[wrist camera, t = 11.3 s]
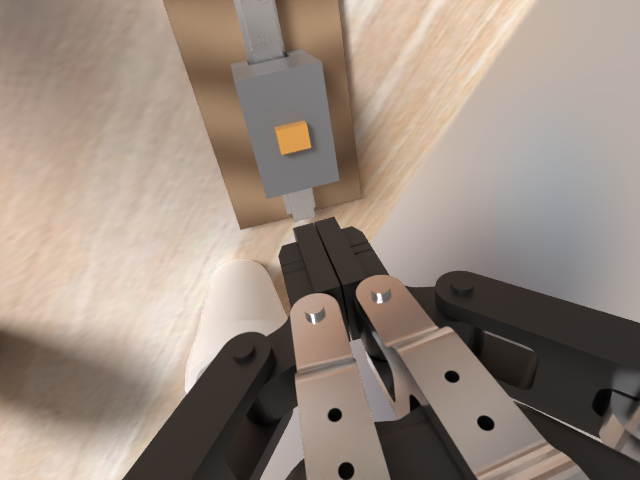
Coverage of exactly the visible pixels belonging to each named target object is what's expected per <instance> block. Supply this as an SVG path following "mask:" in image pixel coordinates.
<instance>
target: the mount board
mask: <svg viewBox="0 0 640 480" xmlns="http://www.w3.org/2000/svg"><path fill="white" fill-rule="evenodd" d="M163 3H164V6H165V8H166V11H167V14H168V17H169V20H170V23H171V26H172V29H173V32H174V35H175V38H176V41H177V44H178V47H179V50H180V53H181V56H182V58H183V61H184V64H185V67H186V70H187V73H188V76H189V79H190V82H191V85H192V88H193V91H194V94H195V97H196V100H197V103H198V106H199V108H200V111H201V114H202V117H203V120H204V123H205V126H206V129H207V132H208V135H209V138H210V141H211V144H212V147H213V150H214V153H215V155H216V158H217V161H218V164H219V167H220V170H221V173H222V176H223V179H224V182H225V185H226V188H227V191H228V194H229V197H230V200H231V203H232V205H233V208H234V211H235V214H236V217H237V220H238V223H239V226H240V229H241V230H242V229H245V228H249V227H253V226H257V225H261V224H265V223H268V222H272V221H276V220H280V219H284V218H288V217H291V216H292V214H287V212H286V208H285V204H284V200H283V196H282V195H281V196H277V197H273V198H269V199H267V198H266V194H265V191H264V187H263V184H262V180H261V177H260V173H259V169H258V166H257V162H256V159H255V155H254V151H253V148H252V144H251V141H250V137H249V133H248V130H247V126H246V123H245V119H244V115H243V112H242V108H241V105H240V101H239V98H238V94H237V90H236V87H235V83H234V79H233V74H232V68H231V64H233V63H237V62H242V61H247V63H248V65H250V64H249V60H248V56H247V52H246V48H245V44H244V40H243V36H242V32H241V28H240V24H239V20H238V16H237V12H236V8H235V4H234V0H163ZM275 4H276V9H277V14H278V19H279V24H280V29H281V34H282V39H283V44H284V49H285V52H287V51H292V50H296V49H302V50H304V51H305V52H307V53H308V54H310V55H312V56H313V57H315V58H317V59H318V60H320V61H322V67H323V74H324V80H325V87H326V94H327V100H328V107H329V114H330V120H331V127H332V134H333V140H334V147H335V153H336V160H337V167H338V173H339V180H340V181H336V182H332V183H328V184H324V185H320V186H316V187H312V190H313V196H314V201H315V206H316V207H314V210H318V209H322V208H326V207H330V206H334V205H337V204H341V203H345V202H349V201H353V200H356V199H360V198H361V191H360V182H359V174H358V165H357V157H356V149H355V140H354V132H353V123H352V115H351V106H350V98H349V89H348V81H347V72H346V64H345V55H344V47H343V38H342V30H341V21H340V13H339V4H338V0H275Z"/></svg>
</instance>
